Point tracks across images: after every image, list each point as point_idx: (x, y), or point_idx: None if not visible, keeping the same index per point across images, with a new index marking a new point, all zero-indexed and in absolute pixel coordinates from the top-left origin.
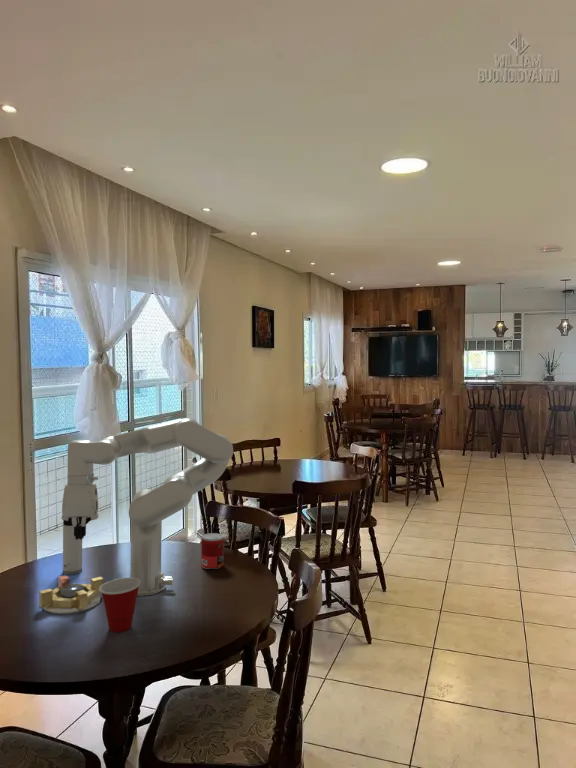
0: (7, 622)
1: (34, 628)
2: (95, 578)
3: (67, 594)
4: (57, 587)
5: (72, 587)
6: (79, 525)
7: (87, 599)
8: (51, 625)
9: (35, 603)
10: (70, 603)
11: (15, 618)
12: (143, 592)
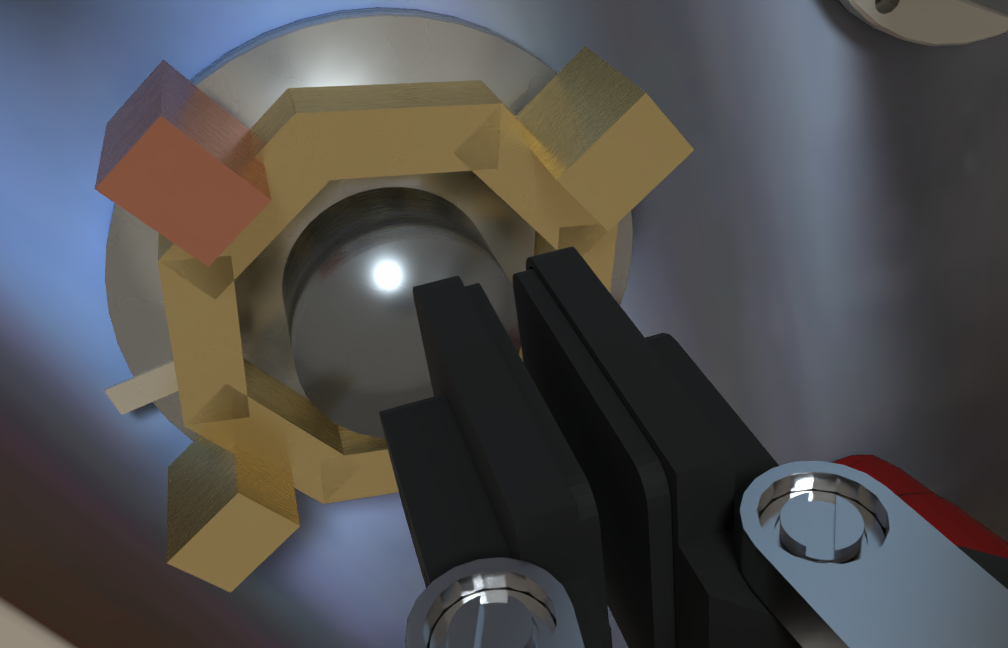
0: (70, 642)
1: (331, 642)
2: (604, 158)
3: None
4: (167, 253)
5: (407, 335)
6: (588, 568)
7: None
8: (420, 588)
9: (22, 342)
10: None
11: (80, 588)
12: (986, 36)
